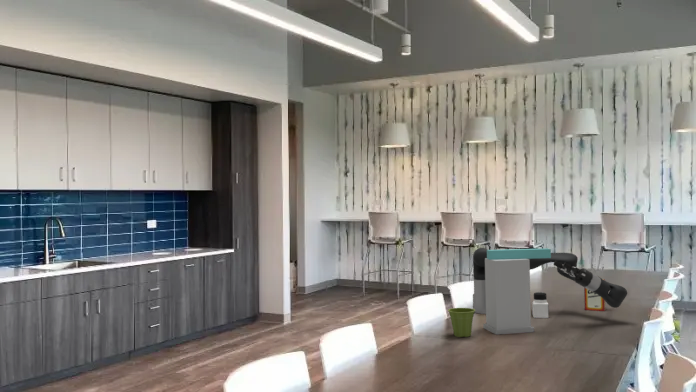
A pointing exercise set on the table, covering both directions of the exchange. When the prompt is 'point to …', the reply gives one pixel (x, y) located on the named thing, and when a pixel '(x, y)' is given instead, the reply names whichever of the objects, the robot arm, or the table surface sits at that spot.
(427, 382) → the table surface
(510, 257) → the block
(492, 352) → the table surface
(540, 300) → the medicine bottle
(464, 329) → the plant pot
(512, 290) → the pedestal
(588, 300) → the baking soda box
